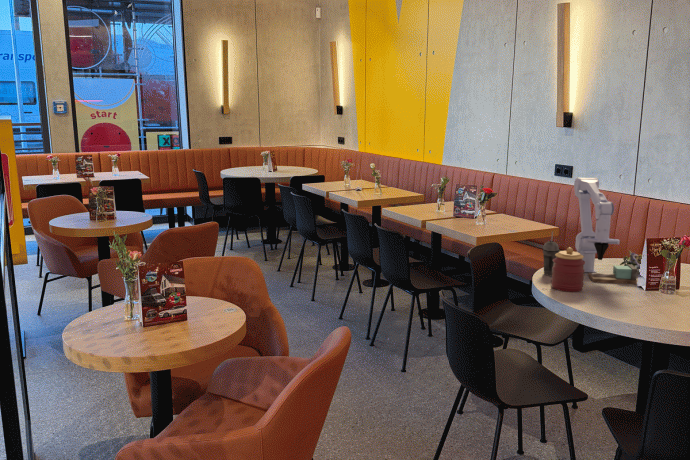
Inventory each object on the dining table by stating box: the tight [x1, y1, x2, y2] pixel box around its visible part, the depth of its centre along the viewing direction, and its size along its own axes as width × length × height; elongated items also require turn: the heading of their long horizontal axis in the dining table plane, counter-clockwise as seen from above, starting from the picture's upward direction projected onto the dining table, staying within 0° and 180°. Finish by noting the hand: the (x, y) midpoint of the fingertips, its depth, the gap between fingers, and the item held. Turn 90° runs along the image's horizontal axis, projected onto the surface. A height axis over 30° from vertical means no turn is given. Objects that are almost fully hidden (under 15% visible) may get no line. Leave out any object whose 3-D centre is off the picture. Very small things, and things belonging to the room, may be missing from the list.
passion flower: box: [619, 250, 643, 274], centre depth 280 cm, size 11×11×12 cm
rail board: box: [587, 263, 638, 285], centre depth 266 cm, size 18×10×6 cm, turn 80°
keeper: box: [612, 264, 632, 279], centre depth 265 cm, size 6×6×4 cm
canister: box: [550, 246, 585, 293], centre depth 253 cm, size 13×13×18 cm
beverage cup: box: [542, 231, 560, 277], centre depth 273 cm, size 7×7×20 cm
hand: (599, 259), depth 264 cm, fingers closed
